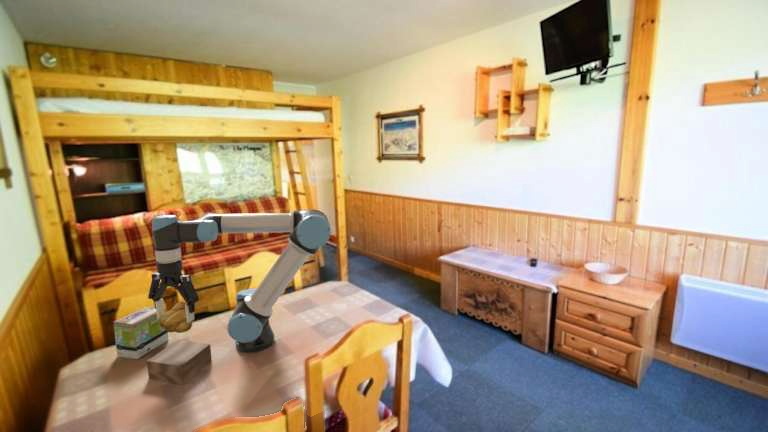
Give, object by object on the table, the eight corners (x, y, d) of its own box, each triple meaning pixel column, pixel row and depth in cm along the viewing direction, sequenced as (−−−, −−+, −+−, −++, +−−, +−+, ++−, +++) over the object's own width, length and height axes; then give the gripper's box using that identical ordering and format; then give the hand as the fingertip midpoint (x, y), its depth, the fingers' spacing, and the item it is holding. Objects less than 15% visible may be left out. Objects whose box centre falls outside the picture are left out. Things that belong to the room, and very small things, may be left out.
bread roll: (198, 330, 121) (196, 309, 120) (166, 340, 115) (164, 318, 113) (187, 318, 130) (185, 298, 129) (158, 327, 124) (155, 306, 122)
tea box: (138, 360, 131) (133, 324, 129) (116, 357, 133) (111, 321, 131) (169, 339, 146) (166, 307, 143) (150, 337, 148) (145, 305, 145)
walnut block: (211, 361, 131) (210, 344, 129) (183, 384, 117) (180, 366, 116) (180, 356, 133) (178, 339, 132) (148, 379, 120) (146, 360, 119)
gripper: (207, 259, 119) (212, 317, 123) (149, 255, 124) (156, 311, 128) (190, 265, 112) (197, 327, 116) (130, 261, 117) (138, 320, 121)
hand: (175, 319), depth 122 cm, fingers closed on bread roll, 12 cm apart
